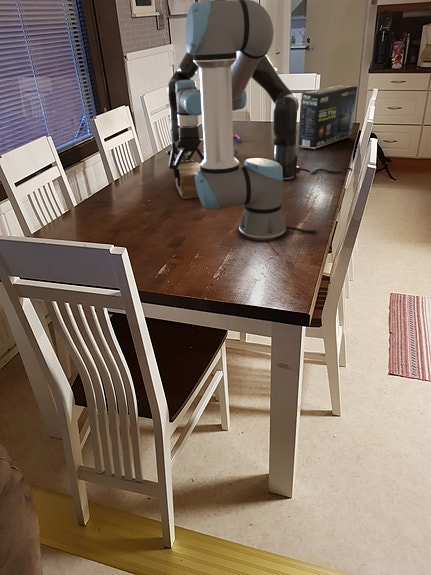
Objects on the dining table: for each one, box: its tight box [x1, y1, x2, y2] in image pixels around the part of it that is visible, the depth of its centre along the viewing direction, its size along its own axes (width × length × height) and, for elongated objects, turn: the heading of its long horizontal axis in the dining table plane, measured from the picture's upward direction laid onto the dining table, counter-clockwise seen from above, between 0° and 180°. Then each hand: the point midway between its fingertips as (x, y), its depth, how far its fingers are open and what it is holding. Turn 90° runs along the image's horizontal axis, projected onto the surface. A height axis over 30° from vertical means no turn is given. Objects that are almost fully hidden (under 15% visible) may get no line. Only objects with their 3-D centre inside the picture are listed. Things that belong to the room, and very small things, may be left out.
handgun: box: [233, 134, 243, 143], centre depth 259 cm, size 21×8×2 cm, turn 11°
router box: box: [297, 84, 358, 151], centre depth 238 cm, size 36×11×27 cm, turn 134°
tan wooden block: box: [174, 161, 200, 200], centre depth 184 cm, size 16×10×9 cm, turn 13°
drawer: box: [173, 159, 195, 179], centre depth 194 cm, size 20×9×7 cm, turn 13°
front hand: (192, 184), depth 181 cm, fingers closed on tan wooden block, 10 cm apart
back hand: (182, 171), depth 201 cm, fingers closed
